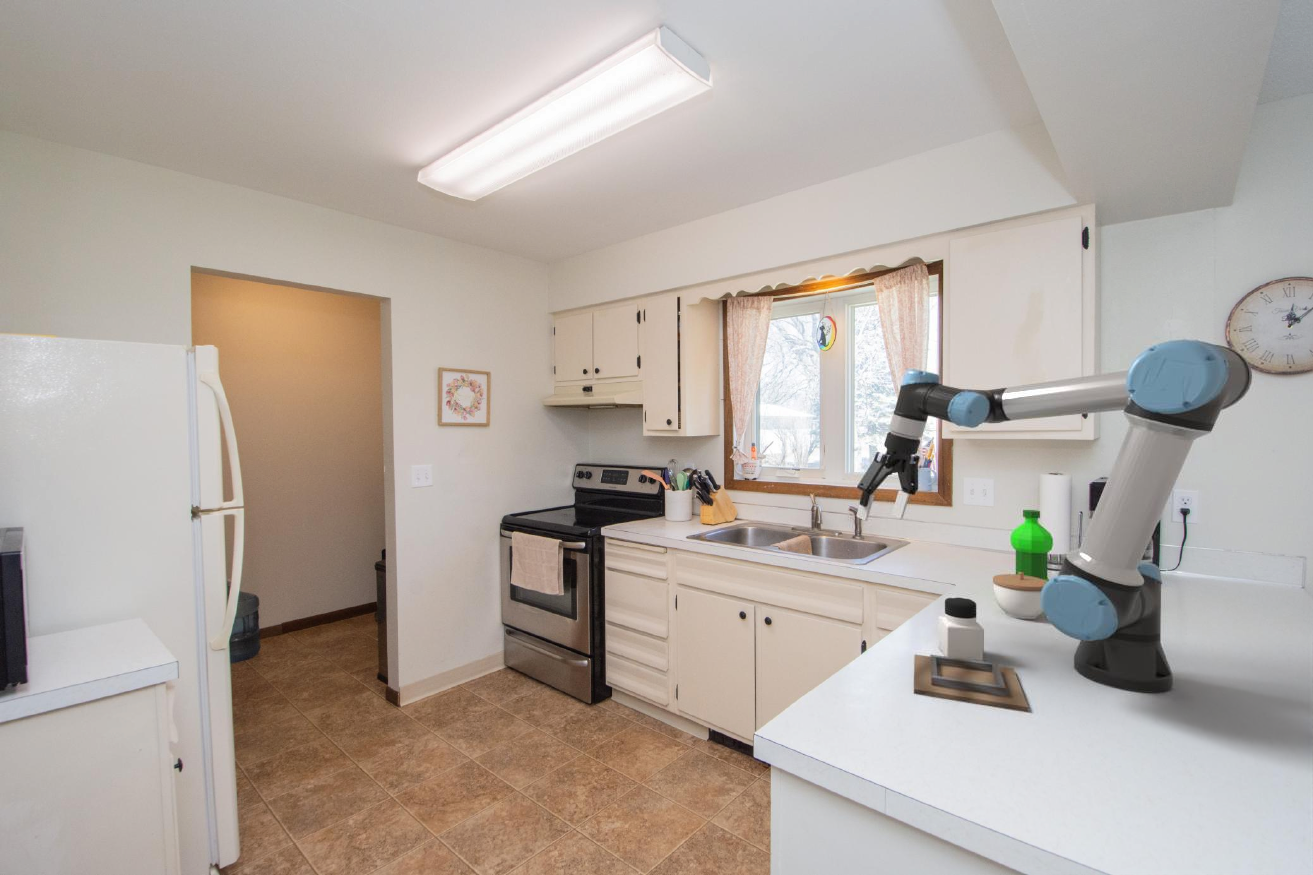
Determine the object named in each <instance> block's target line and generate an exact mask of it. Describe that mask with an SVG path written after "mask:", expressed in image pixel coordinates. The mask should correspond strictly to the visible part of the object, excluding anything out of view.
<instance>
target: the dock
mask: <svg viewBox="0 0 1313 875" xmlns="http://www.w3.org/2000/svg"><path fill="white" fill-rule="evenodd" d="M913 660H914V661H913V662H914V663H913V666H914V667H913V694H915V695H916V694H917V695H923V696H927V697H928V696H929V697H933V698H941V699H948V700H951V701H952V700H953V701H961V702H966V703H971V702H972V703H973V704H979V705H985V706H989V707H990V706H991V707H995V708H996V707H997V708H1002V709H1010V710H1015V711H1021V712H1028V713H1029V706H1028V703H1027V699H1026V698H1025V695H1024V693H1023V690H1022V687H1021V684H1020V682H1019V679H1018V676H1017V674H1016V672H1015V669H1014V667H1011V666H1010V667H1009V666H1001V665H999V664H998V663H997V662H989V661H983V662H982V661H975V660H967V659H960V658H953V657H946V656H945V655H936V654H930V656H929V655H928V656H927V655H921V654H914V659H913Z"/></svg>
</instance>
